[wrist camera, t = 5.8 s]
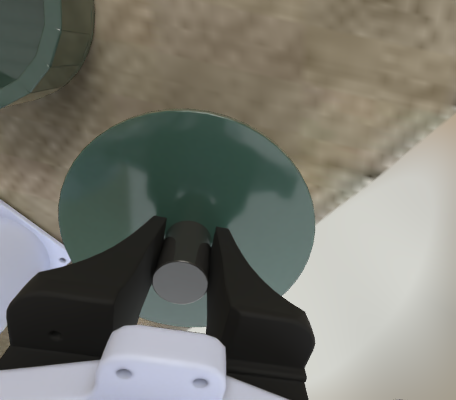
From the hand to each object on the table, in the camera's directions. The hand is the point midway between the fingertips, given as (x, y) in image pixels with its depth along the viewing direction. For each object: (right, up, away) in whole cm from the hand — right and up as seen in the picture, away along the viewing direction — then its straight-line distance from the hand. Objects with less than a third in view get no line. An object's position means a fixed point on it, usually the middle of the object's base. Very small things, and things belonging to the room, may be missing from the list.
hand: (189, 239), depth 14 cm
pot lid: (0, 0, +1) cm, 1 cm away
